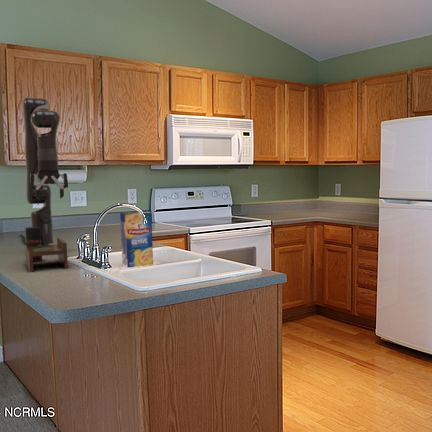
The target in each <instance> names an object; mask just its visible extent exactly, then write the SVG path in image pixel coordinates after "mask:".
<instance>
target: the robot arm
mask: <svg viewBox="0 0 432 432" xmlns="http://www.w3.org/2000/svg"><path fill="white" fill-rule="evenodd" d="M22 113H23V126H24V150H25V151H24V154H25V168H26V170H25V171H26V181H25V182H26V183H25V184H26V186H25V188H26V189H25V197H26V202H27V203H28V204H29V205H39V204H40V205H41V204H43V206H42V207H40V208H39V209H36V210H33V211H31V212H30V223H31V224H30V225H31V227H40V228H41V245H42V246H45V245H55V244H54V234H53V233H54V231H53V215H52V189H51V186H50V185H54V184H55V185H56V186H57V187H58V188H59V199H63V198H64V197H65V189H66V188H68V187H69V182H68V173H65V172H63V173H60V172H59V155H58V150H57V135H58V134H57V133H58V129H59V125H60V121H61V117H60V114H59V113H58V112H57V111H55V110H51V104H50V102H49V100H47V98H43V97H24V98H23V100H22ZM36 128H39V129H50V130H49V131H48V132H45V133H39V132H38V131H37V129H36ZM37 178H38V179H39V182H38V183H37V184H35V181H36V179H37ZM60 178H61V179H63V185H62V184H61V182H60V181H59V179H60ZM19 237H22V243H23V244H25V245H26V246H27V243H26V239H25V235H23V234H19Z"/></svg>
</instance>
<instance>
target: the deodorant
mask: <svg viewBox="0 0 432 432" xmlns="http://www.w3.org/2000/svg"><path fill="white" fill-rule="evenodd" d="M25 242H26V243H27V245H26V247H32V246H42V245H41V228H40V227H32V226H30V227H29V226H28V227H25ZM40 262H43V256H35V257H33V263H40Z"/></svg>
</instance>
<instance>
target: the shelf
mask: <svg viewBox="0 0 432 432" xmlns="http://www.w3.org/2000/svg"><path fill="white" fill-rule="evenodd" d="M56 242H57V244H54V245H45V246H32V247H27V246H25V247H24V253H25V265H26V267H27V268H28V271H29V272H30V273H32V272H34V262H33V257H35V256H42V257H45V256H57V261H58V263H59V264H60V265H61V266H62V267H63V268H64V269H68V268H69V263H68V261H69V260H68V244H67V242H66V241H65V240H64V239H63V238H61V237H56Z"/></svg>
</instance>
